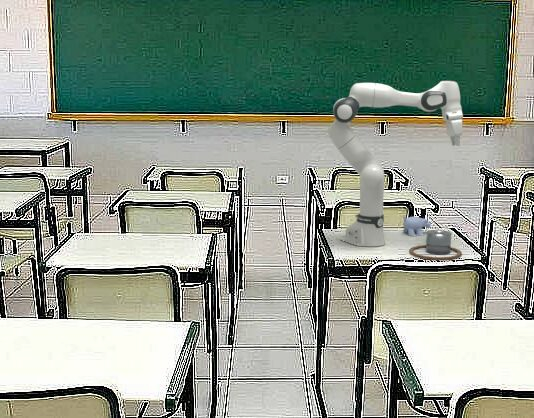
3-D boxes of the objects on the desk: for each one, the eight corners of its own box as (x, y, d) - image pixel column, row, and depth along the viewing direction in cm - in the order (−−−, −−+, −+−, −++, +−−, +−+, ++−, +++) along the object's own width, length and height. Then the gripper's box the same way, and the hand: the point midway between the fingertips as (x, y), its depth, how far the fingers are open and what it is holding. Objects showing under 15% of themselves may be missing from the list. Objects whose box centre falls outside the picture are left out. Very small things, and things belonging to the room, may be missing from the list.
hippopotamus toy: (434, 235, 379) (435, 216, 377) (406, 237, 376) (407, 218, 374) (425, 230, 389) (425, 212, 387) (397, 232, 386) (398, 213, 384)
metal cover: (421, 251, 348) (421, 230, 346) (435, 247, 355) (436, 226, 353) (440, 256, 340) (441, 234, 338) (455, 252, 347) (456, 230, 345)
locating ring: (399, 252, 346) (399, 250, 346) (430, 244, 361) (430, 242, 361) (440, 263, 329) (440, 260, 329) (471, 254, 344) (471, 251, 343)
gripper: (441, 116, 357) (445, 146, 358) (449, 116, 337) (452, 147, 338) (455, 115, 356) (458, 144, 358) (463, 114, 336) (467, 145, 337)
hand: (456, 145), depth 348 cm, fingers open, 8 cm apart
